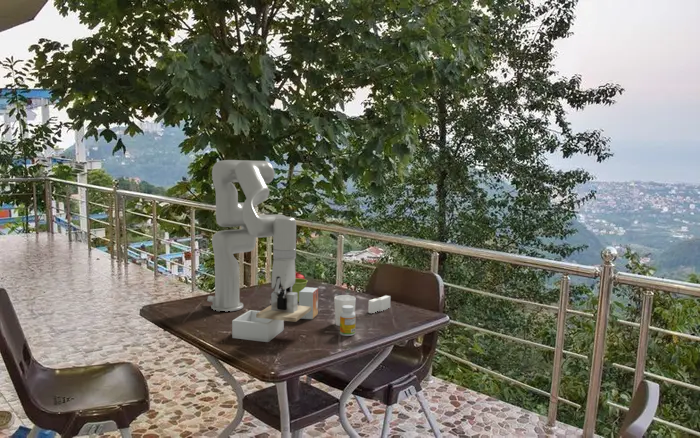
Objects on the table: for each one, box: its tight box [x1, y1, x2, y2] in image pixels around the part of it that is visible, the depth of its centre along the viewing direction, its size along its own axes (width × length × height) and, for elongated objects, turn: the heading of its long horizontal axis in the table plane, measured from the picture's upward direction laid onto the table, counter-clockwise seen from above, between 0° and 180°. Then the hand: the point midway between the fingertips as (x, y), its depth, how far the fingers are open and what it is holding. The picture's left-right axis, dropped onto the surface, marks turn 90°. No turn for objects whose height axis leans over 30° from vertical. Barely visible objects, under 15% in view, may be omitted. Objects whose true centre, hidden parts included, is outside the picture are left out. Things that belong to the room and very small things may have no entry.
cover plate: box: [256, 290, 311, 323], centre depth 172 cm, size 14×14×7 cm
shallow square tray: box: [231, 309, 285, 343], centre depth 175 cm, size 13×13×6 cm
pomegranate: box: [295, 268, 306, 279], centre depth 241 cm, size 10×10×9 cm
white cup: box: [333, 294, 357, 327], centre depth 188 cm, size 8×8×10 cm
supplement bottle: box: [339, 305, 357, 337], centre depth 177 cm, size 5×5×10 cm
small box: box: [298, 286, 319, 320], centre depth 197 cm, size 8×6×10 cm
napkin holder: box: [367, 295, 392, 314], centre depth 207 cm, size 15×11×6 cm
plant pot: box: [292, 278, 309, 303], centre depth 219 cm, size 9×9×9 cm
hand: (284, 307), depth 172 cm, fingers closed on cover plate, 3 cm apart
